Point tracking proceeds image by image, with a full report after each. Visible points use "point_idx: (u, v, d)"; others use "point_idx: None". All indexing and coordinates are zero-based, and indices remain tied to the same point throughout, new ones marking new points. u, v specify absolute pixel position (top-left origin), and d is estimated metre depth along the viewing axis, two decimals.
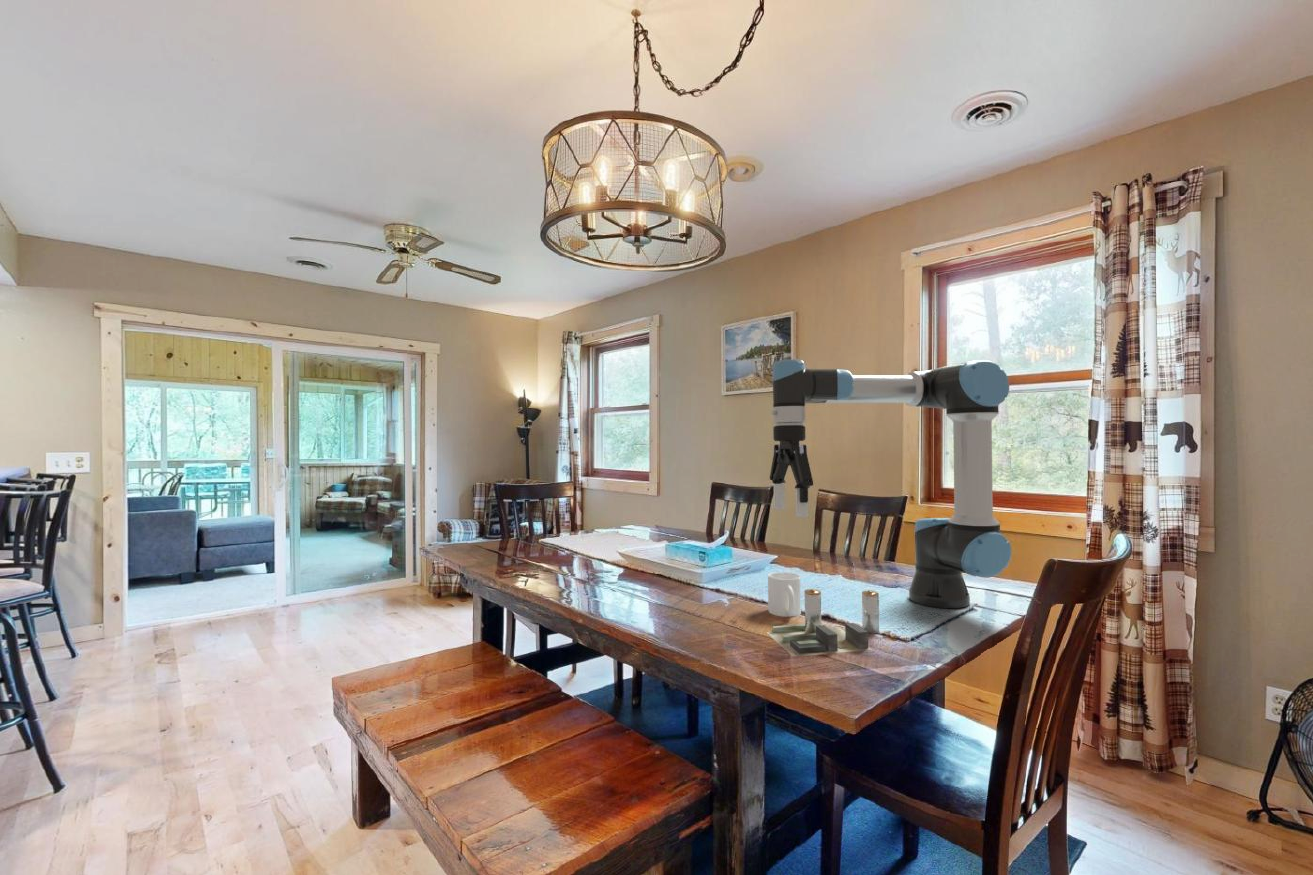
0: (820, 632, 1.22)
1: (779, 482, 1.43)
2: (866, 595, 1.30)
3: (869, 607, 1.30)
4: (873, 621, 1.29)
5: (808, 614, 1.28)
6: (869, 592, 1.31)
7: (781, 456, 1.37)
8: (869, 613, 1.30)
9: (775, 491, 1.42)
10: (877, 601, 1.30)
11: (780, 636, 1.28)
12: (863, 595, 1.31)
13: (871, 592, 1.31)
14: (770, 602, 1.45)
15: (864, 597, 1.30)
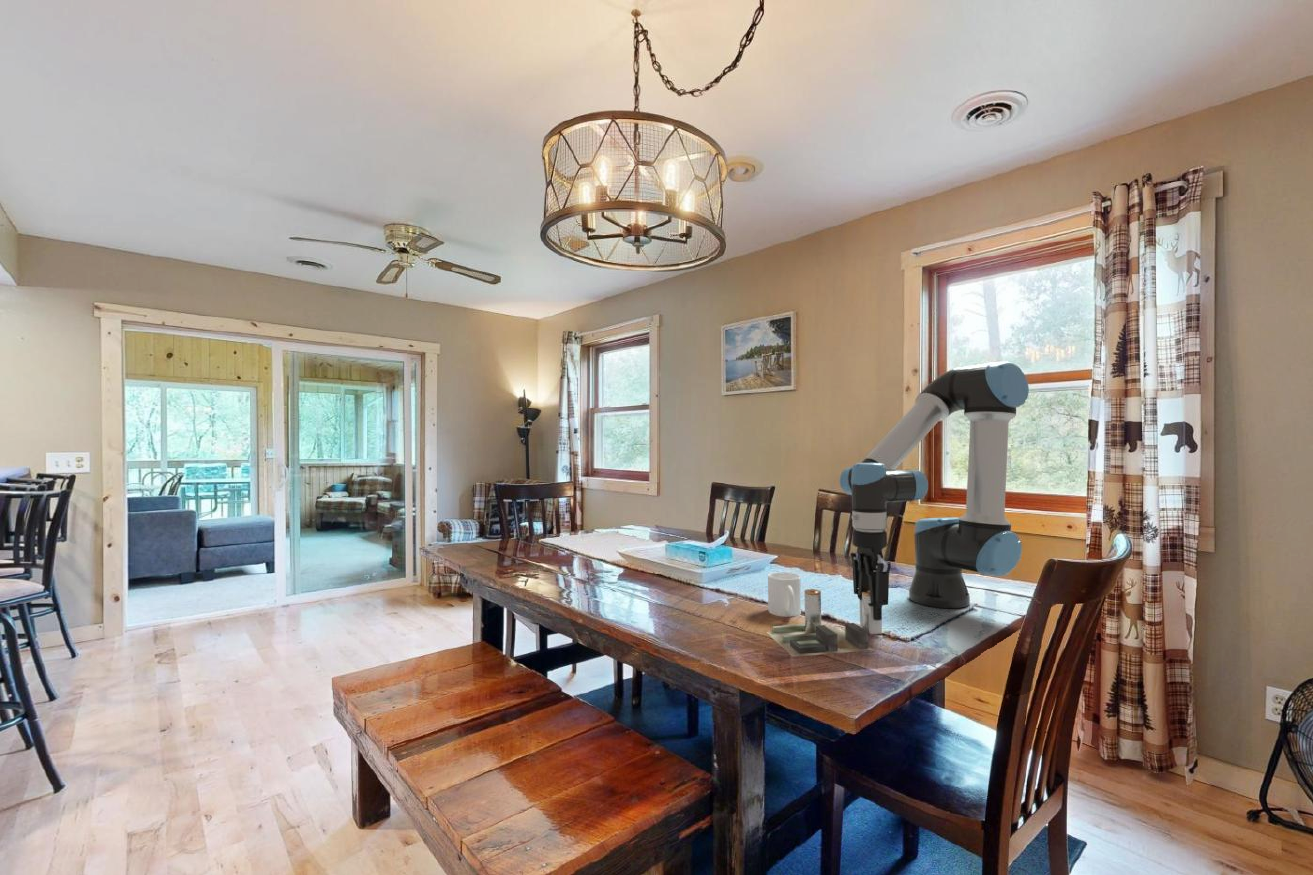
0: (820, 632, 1.22)
1: None
2: (866, 595, 1.30)
3: None
4: None
5: (808, 614, 1.28)
6: (869, 592, 1.31)
7: (862, 561, 1.32)
8: None
9: None
10: None
11: (780, 636, 1.28)
12: (863, 595, 1.31)
13: None
14: (770, 602, 1.45)
15: (864, 597, 1.30)
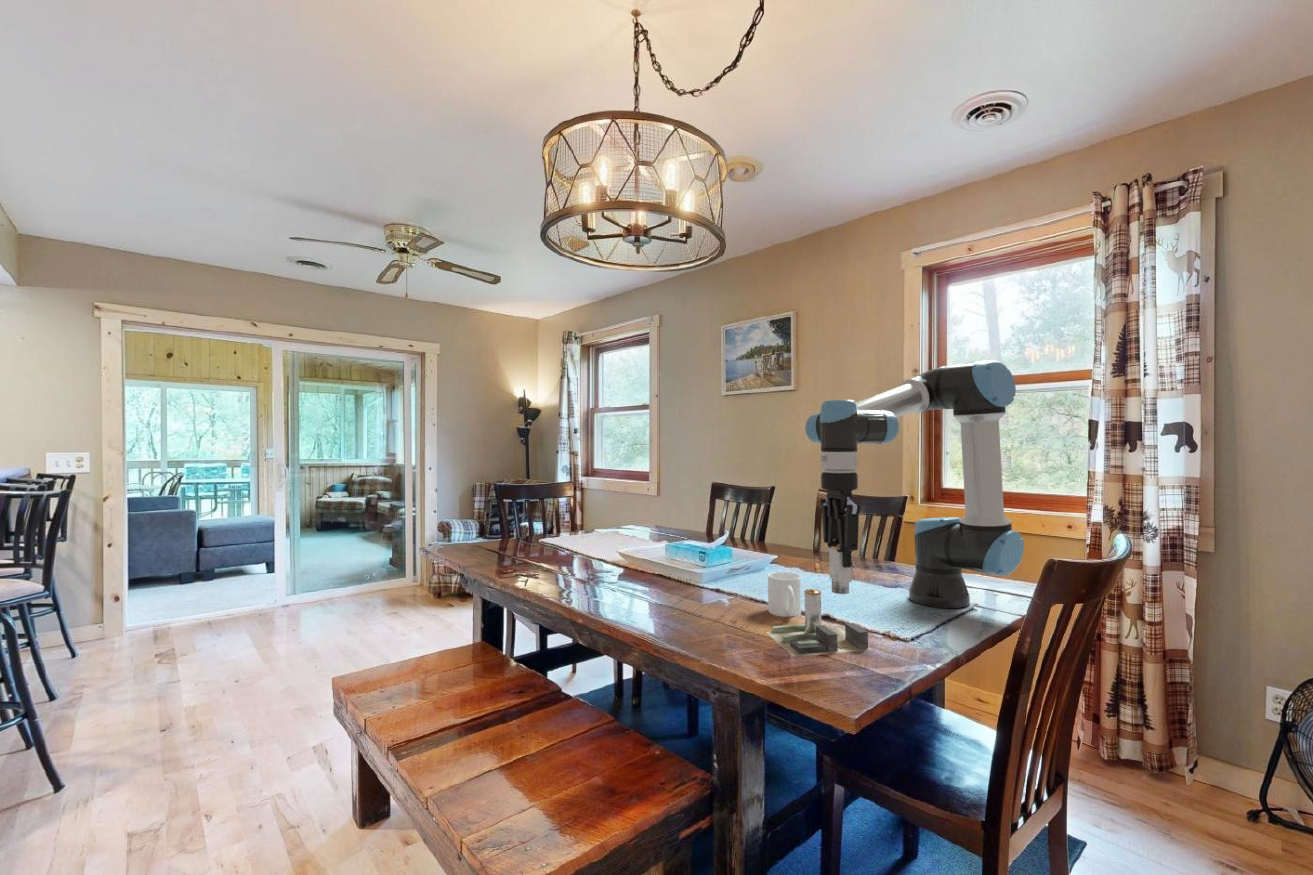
0: (820, 632, 1.22)
1: (836, 544, 1.25)
2: (835, 548, 1.21)
3: None
4: None
5: (808, 614, 1.28)
6: (838, 546, 1.22)
7: (831, 506, 1.23)
8: None
9: None
10: None
11: (780, 636, 1.28)
12: (832, 549, 1.22)
13: None
14: (770, 602, 1.45)
15: (833, 551, 1.22)
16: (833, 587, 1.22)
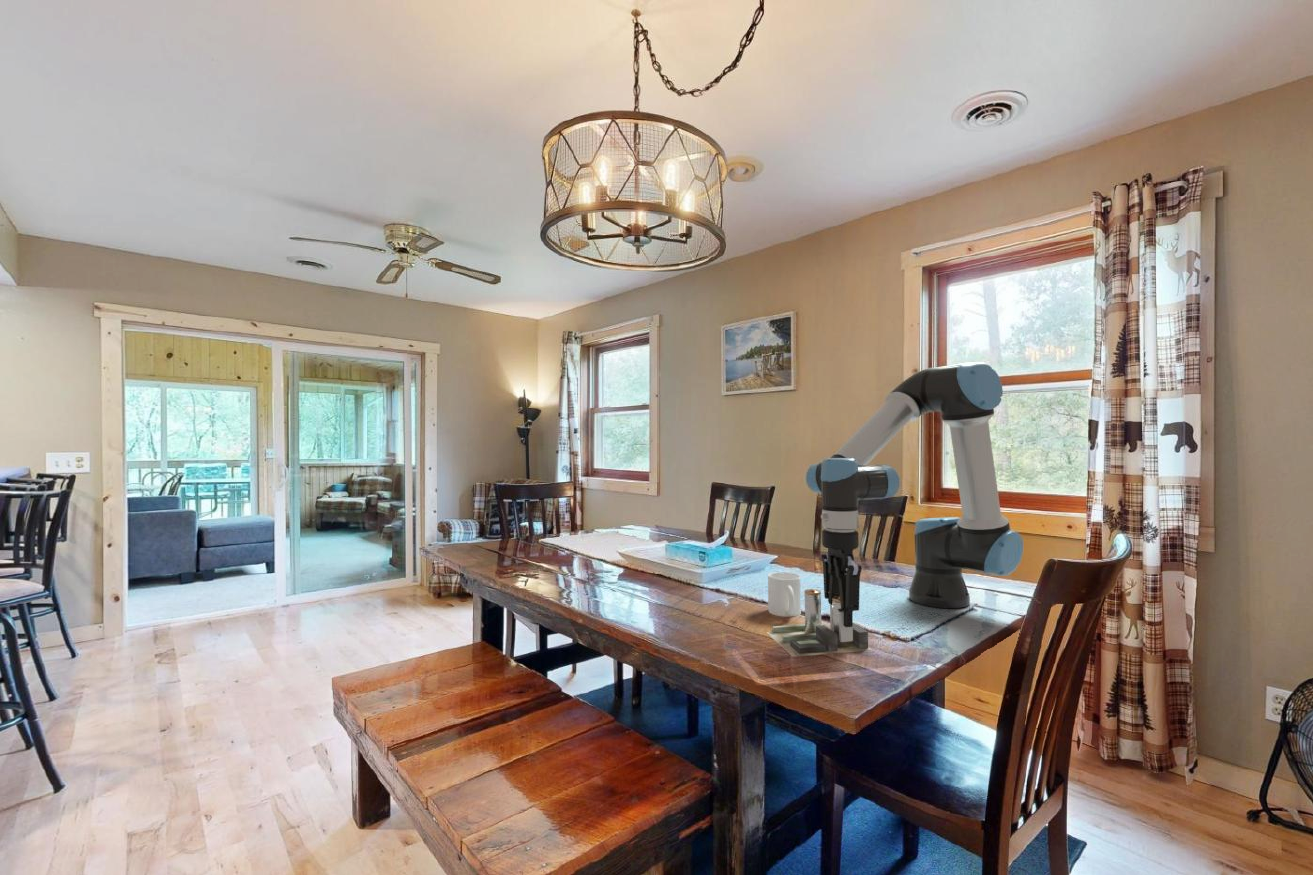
0: (820, 632, 1.22)
1: None
2: (836, 601, 1.21)
3: None
4: None
5: (808, 614, 1.28)
6: None
7: (832, 564, 1.23)
8: None
9: (832, 614, 1.24)
10: None
11: (780, 636, 1.28)
12: (833, 601, 1.22)
13: None
14: (770, 602, 1.45)
15: (834, 604, 1.22)
16: None
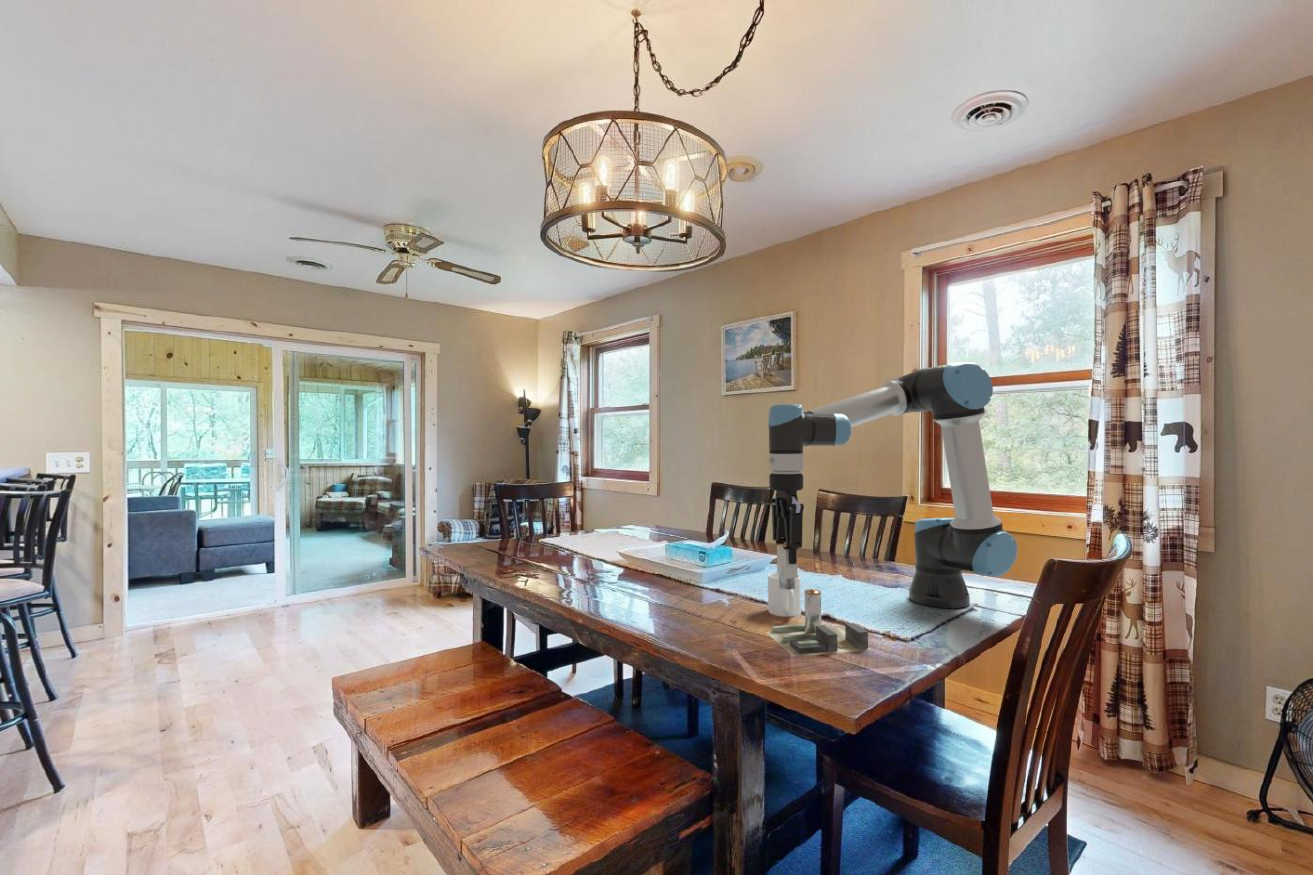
0: (820, 632, 1.22)
1: (783, 542, 1.31)
2: (782, 546, 1.27)
3: None
4: None
5: (808, 614, 1.28)
6: (785, 543, 1.28)
7: (779, 505, 1.29)
8: (784, 565, 1.27)
9: None
10: None
11: (780, 636, 1.28)
12: (779, 546, 1.28)
13: None
14: (770, 602, 1.45)
15: (780, 548, 1.27)
16: (780, 583, 1.28)
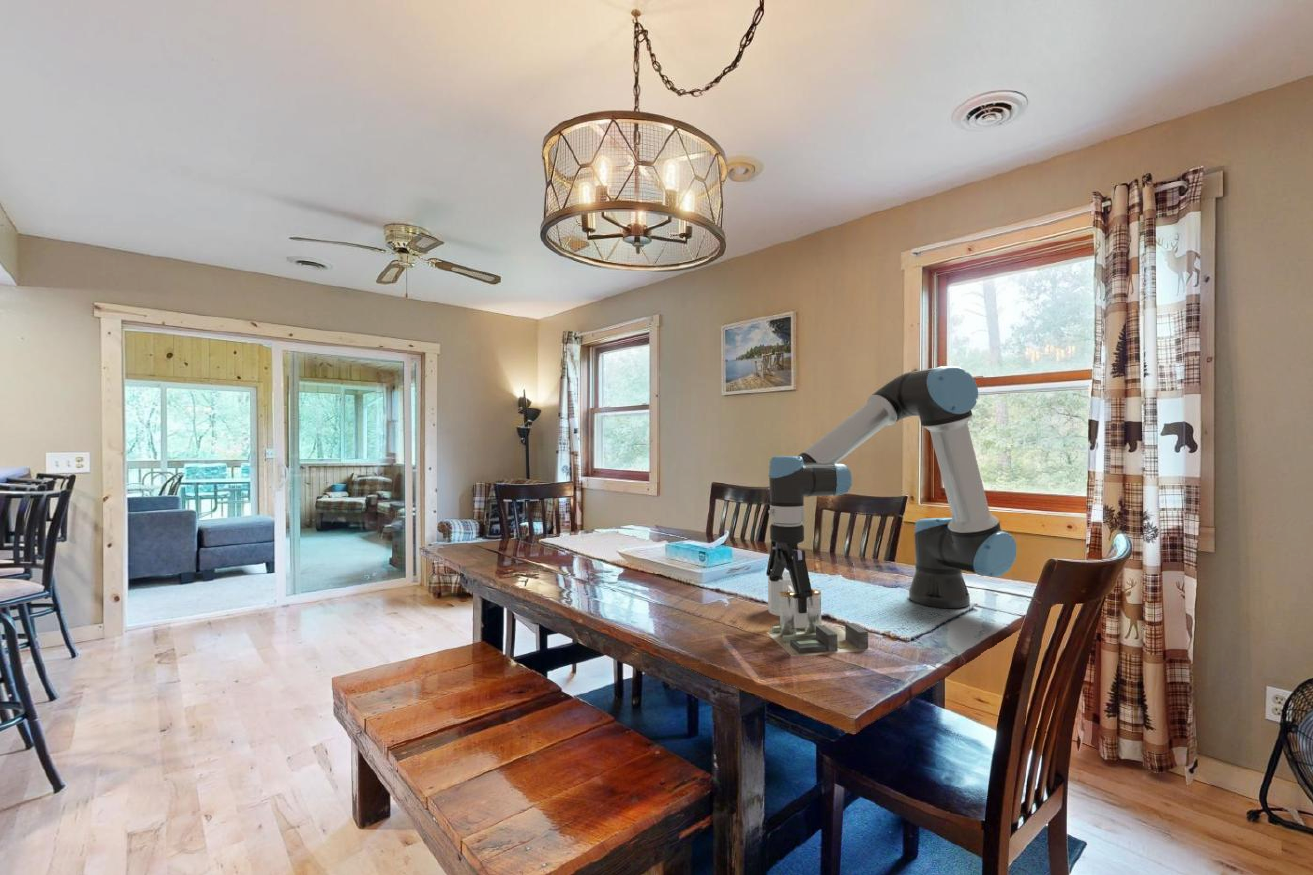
0: (820, 632, 1.22)
1: (776, 579, 1.35)
2: (783, 595, 1.27)
3: (785, 608, 1.27)
4: (789, 622, 1.26)
5: (808, 614, 1.28)
6: (786, 592, 1.28)
7: (778, 556, 1.30)
8: (785, 614, 1.27)
9: (772, 589, 1.34)
10: None
11: (780, 636, 1.28)
12: (780, 595, 1.28)
13: (788, 592, 1.28)
14: (770, 602, 1.45)
15: (781, 598, 1.27)
16: (781, 632, 1.28)
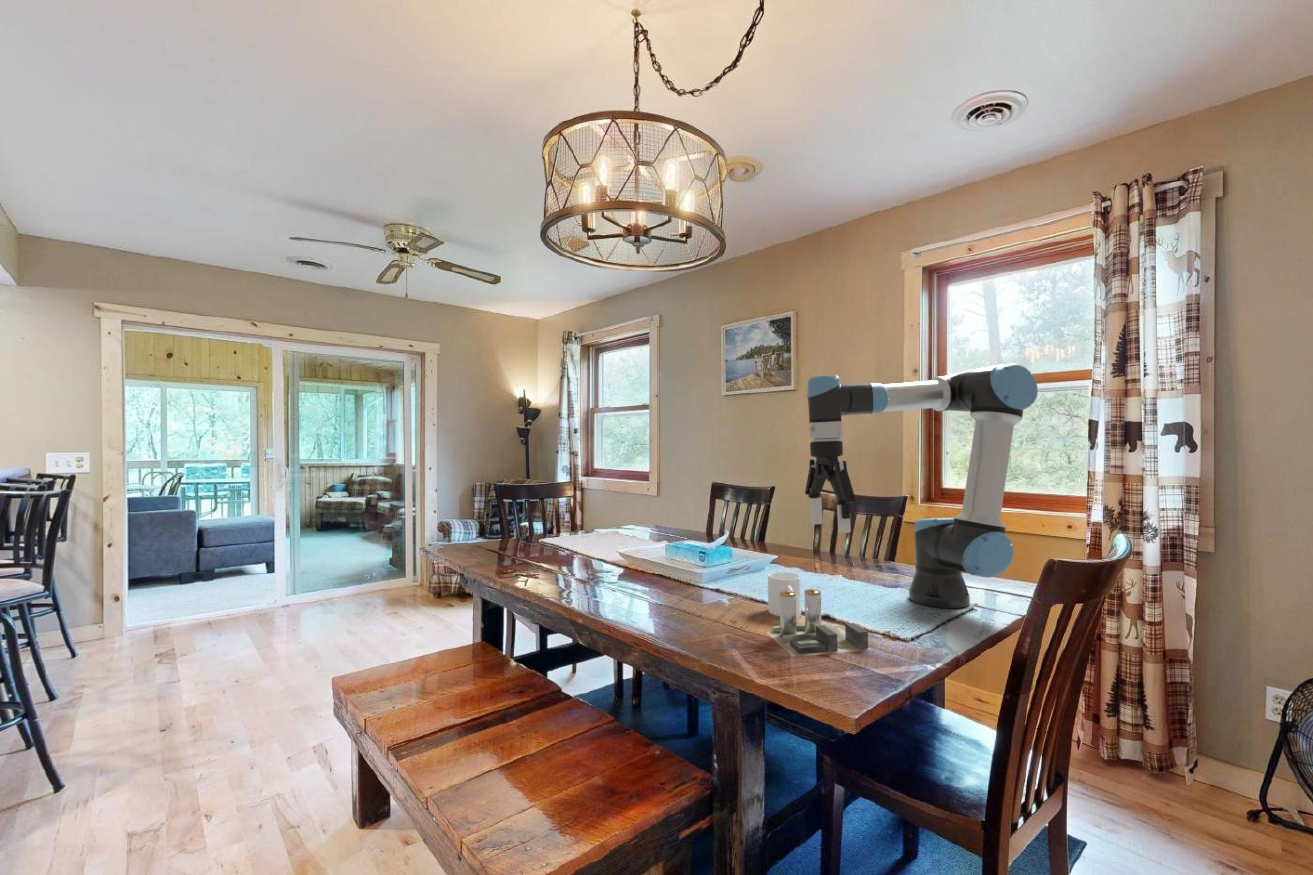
0: (820, 632, 1.22)
1: (815, 496, 1.43)
2: (783, 595, 1.27)
3: (785, 608, 1.27)
4: (789, 622, 1.26)
5: (808, 614, 1.28)
6: (786, 592, 1.28)
7: (818, 471, 1.38)
8: (785, 614, 1.27)
9: (812, 506, 1.43)
10: (794, 601, 1.27)
11: (780, 636, 1.28)
12: (780, 595, 1.28)
13: (788, 592, 1.28)
14: (770, 602, 1.45)
15: (781, 598, 1.27)
16: (781, 632, 1.28)
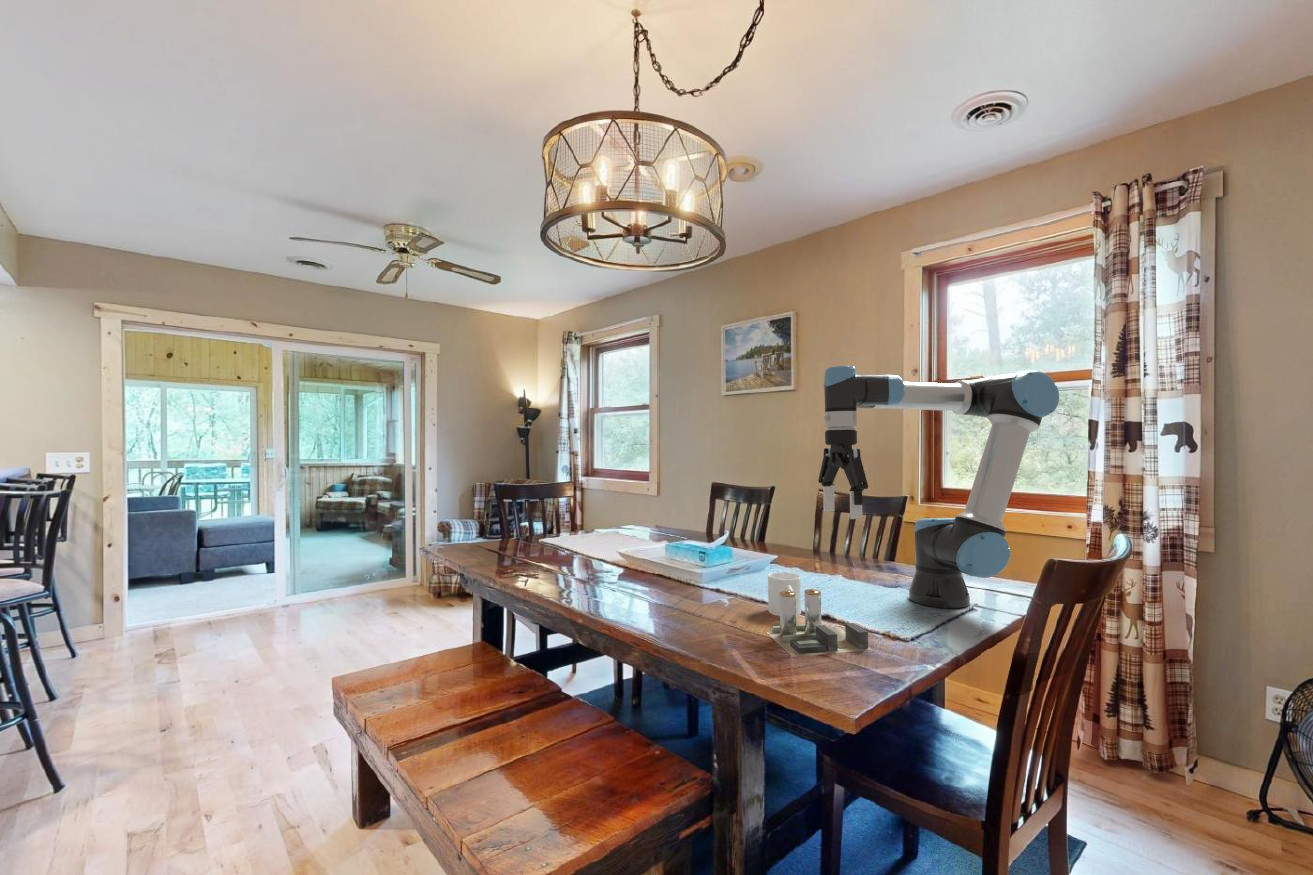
0: (820, 632, 1.22)
1: (828, 485, 1.47)
2: (783, 595, 1.27)
3: (785, 608, 1.27)
4: (789, 622, 1.26)
5: (808, 614, 1.28)
6: (786, 592, 1.28)
7: (832, 459, 1.41)
8: (785, 614, 1.27)
9: (825, 493, 1.46)
10: (794, 601, 1.27)
11: (780, 636, 1.28)
12: (780, 595, 1.28)
13: (788, 592, 1.28)
14: (770, 602, 1.45)
15: (781, 598, 1.27)
16: (781, 632, 1.28)
